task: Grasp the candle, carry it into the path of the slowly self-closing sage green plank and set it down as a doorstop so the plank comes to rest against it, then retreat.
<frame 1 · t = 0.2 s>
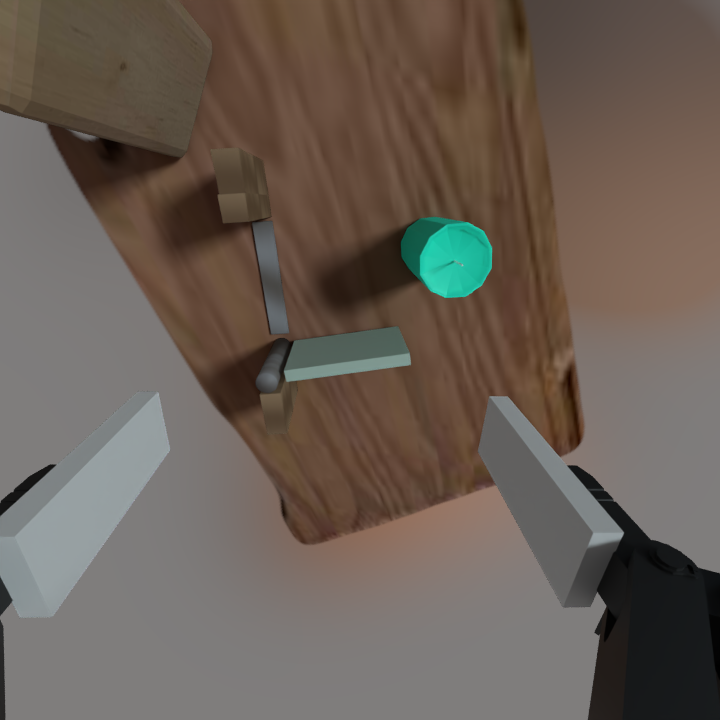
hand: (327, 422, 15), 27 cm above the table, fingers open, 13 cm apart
wooden block: (147, 77, 32), on the table
candle: (427, 246, 38), on the table
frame: (282, 345, 42), on the table
sage green plank: (347, 351, 38), point 5 cm above the table, hinge at 86.0°
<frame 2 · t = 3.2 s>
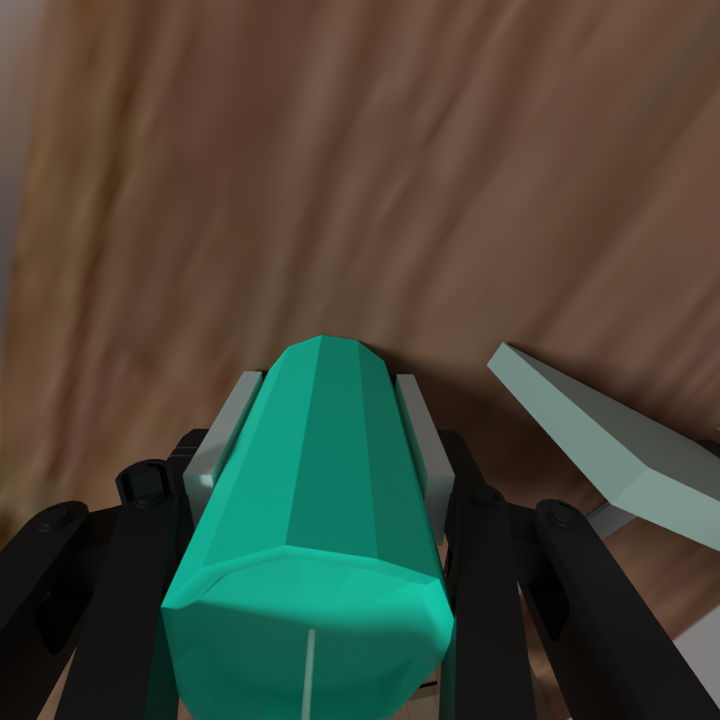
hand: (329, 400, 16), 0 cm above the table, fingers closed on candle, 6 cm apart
wooden block: (439, 709, 29), on the table
candle: (330, 393, 17), on the table, touching gripper
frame: (698, 455, 19), on the table
sage green plank: (668, 462, 13), point 4 cm above the table, hinge at 75.0°
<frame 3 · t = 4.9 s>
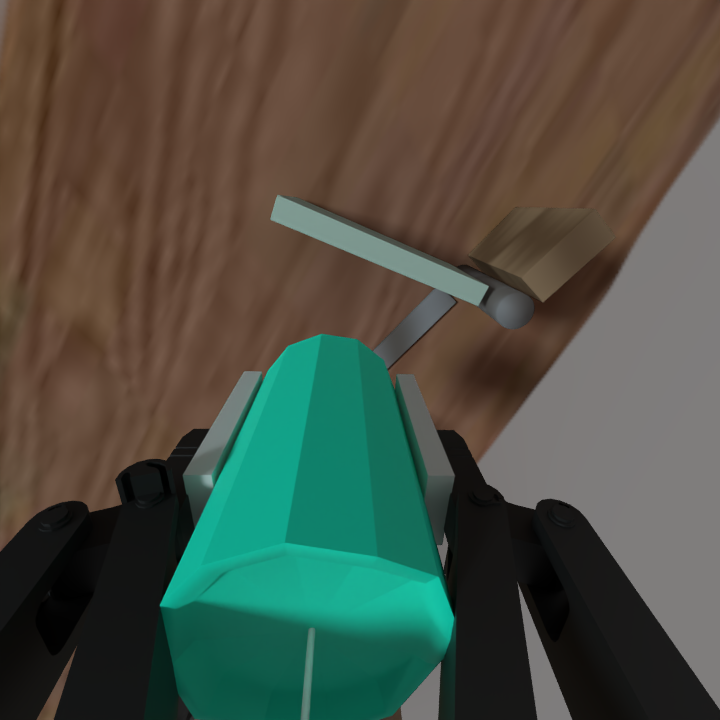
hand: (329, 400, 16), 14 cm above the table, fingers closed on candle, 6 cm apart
candle: (329, 392, 17), point 13 cm above the table, touching gripper
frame: (462, 277, 28), on the table
sage green plank: (378, 246, 22), point 5 cm above the table, hinge at 69.5°
when the fingers open (2 cm above the table, at t = 7.0 s): candle drops 1 cm, on the table.
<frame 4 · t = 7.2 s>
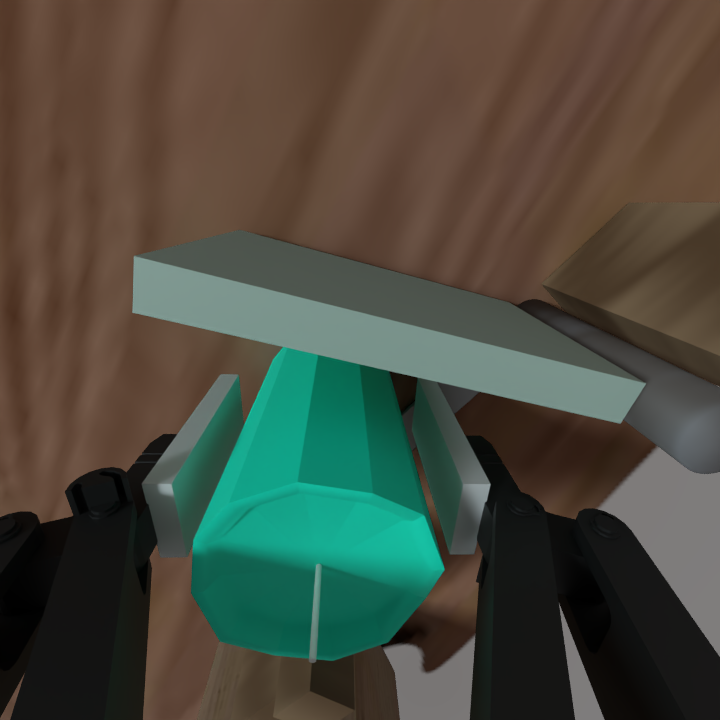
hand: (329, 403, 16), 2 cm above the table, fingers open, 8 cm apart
wooden block: (313, 640, 27), on the table
candle: (330, 379, 18), on the table
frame: (529, 319, 17), on the table
sage green plank: (388, 305, 12), point 5 cm above the table, hinge at 62.7°
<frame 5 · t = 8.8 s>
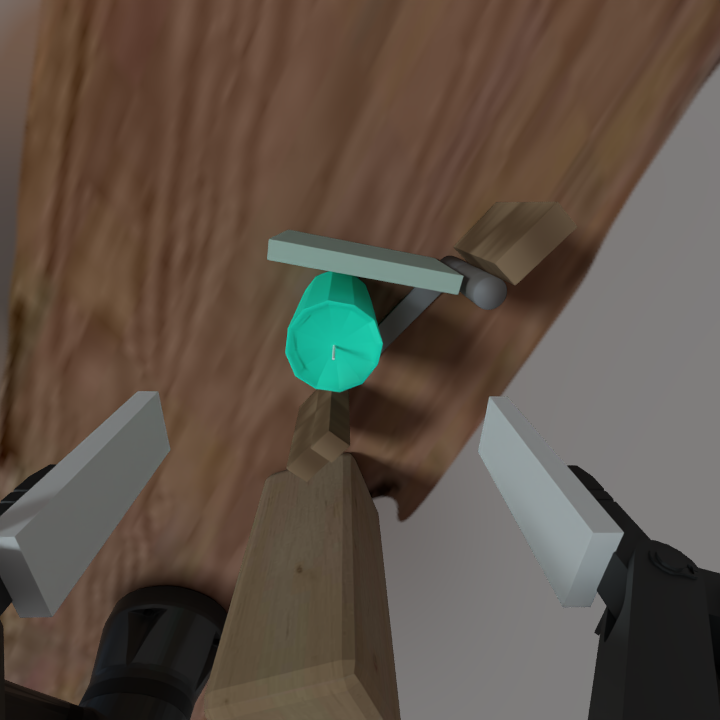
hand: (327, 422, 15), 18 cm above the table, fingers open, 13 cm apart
wooden block: (324, 492, 40), on the table
candle: (337, 303, 32), on the table
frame: (448, 267, 31), on the table
sage green plank: (364, 258, 26), point 4 cm above the table, hinge at 58.5°
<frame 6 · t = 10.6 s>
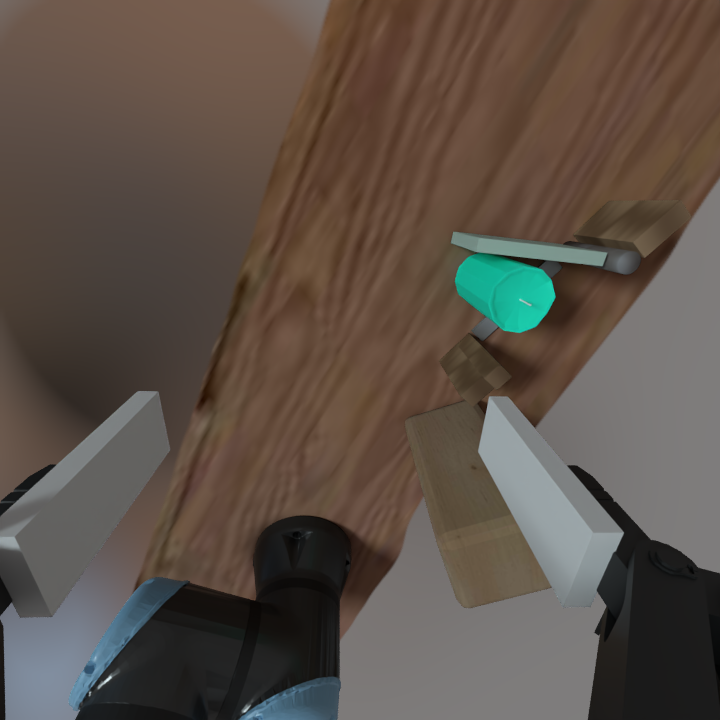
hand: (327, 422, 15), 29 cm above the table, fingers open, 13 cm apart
wooden block: (445, 434, 50), on the table
candle: (480, 278, 42), on the table
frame: (567, 250, 41), on the table
sage green plank: (521, 247, 36), point 5 cm above the table, hinge at 54.0°
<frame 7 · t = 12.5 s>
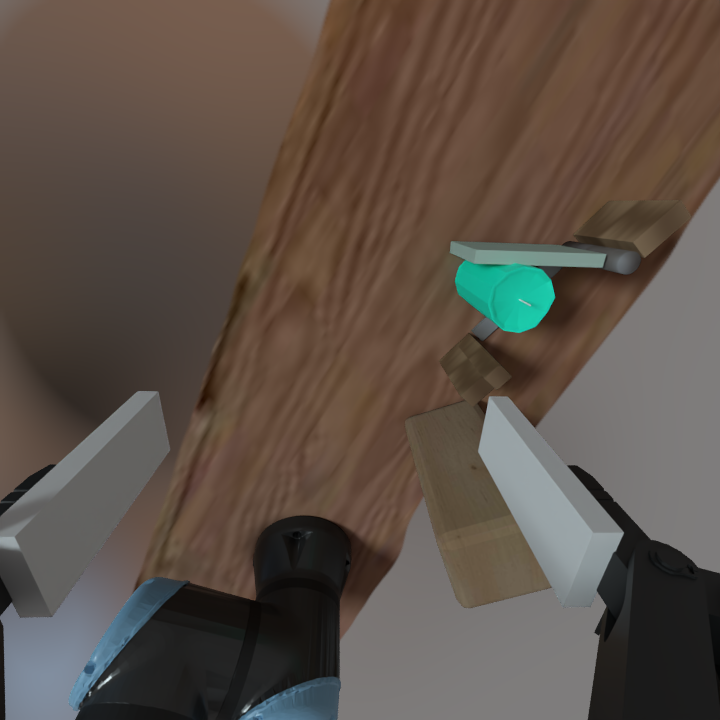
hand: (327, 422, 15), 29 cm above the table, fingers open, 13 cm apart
wooden block: (445, 434, 50), on the table
candle: (480, 278, 42), on the table
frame: (567, 250, 41), on the table
sage green plank: (520, 253, 36), point 4 cm above the table, hinge at 49.8°
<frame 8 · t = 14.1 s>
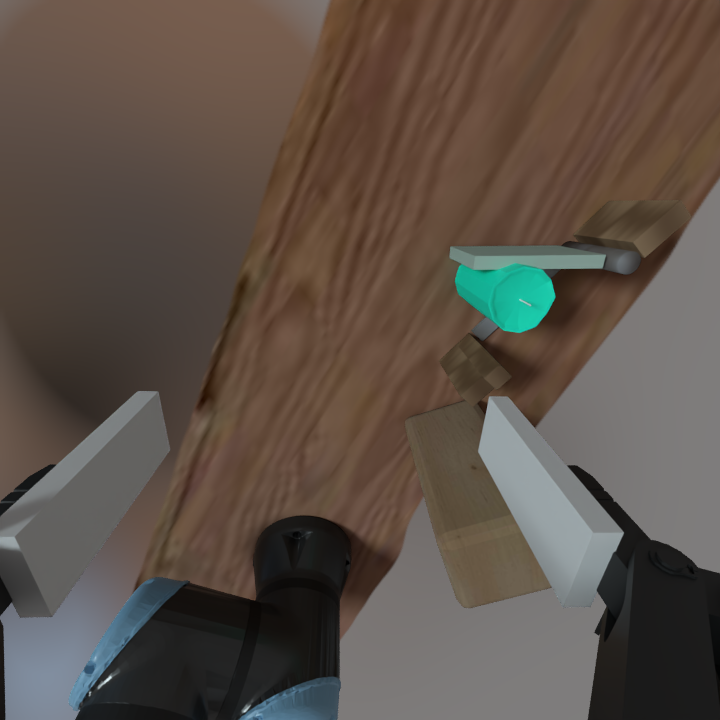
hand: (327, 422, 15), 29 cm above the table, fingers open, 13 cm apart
wooden block: (445, 434, 50), on the table
candle: (480, 278, 42), on the table, touching sage green plank
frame: (567, 250, 41), on the table
sage green plank: (519, 256, 36), point 4 cm above the table, hinge at 47.5°, touching candle
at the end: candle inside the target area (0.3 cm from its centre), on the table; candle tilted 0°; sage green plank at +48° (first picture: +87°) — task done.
